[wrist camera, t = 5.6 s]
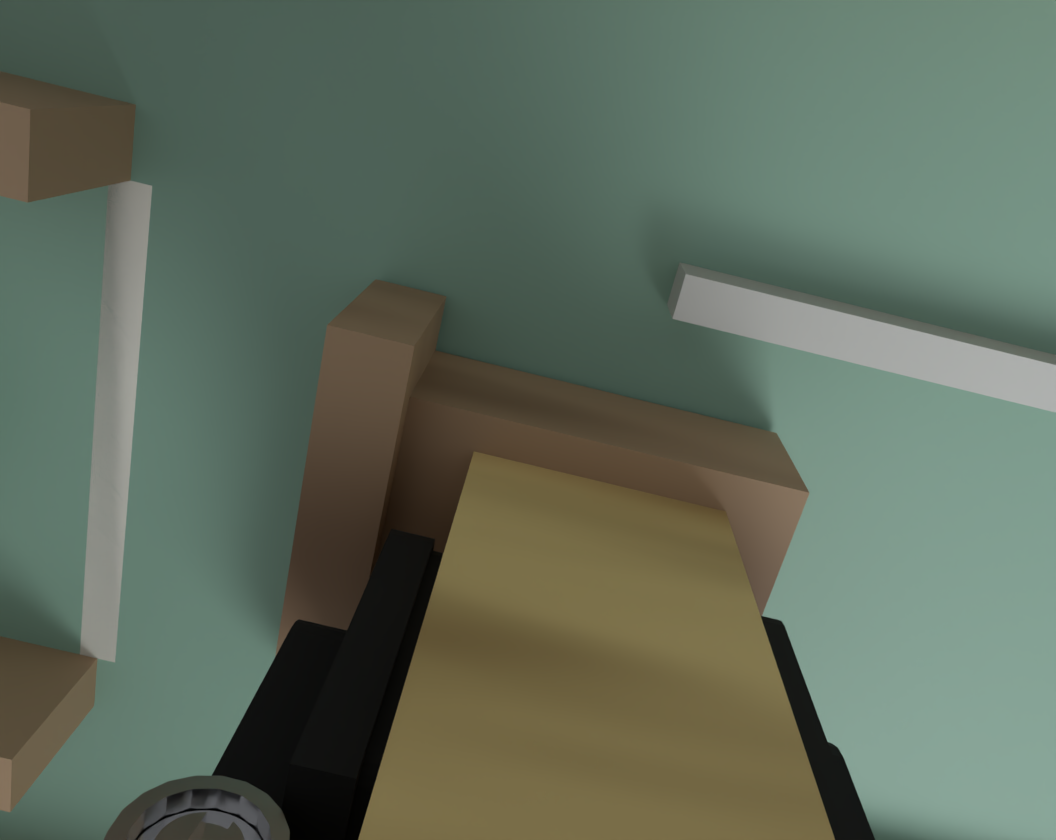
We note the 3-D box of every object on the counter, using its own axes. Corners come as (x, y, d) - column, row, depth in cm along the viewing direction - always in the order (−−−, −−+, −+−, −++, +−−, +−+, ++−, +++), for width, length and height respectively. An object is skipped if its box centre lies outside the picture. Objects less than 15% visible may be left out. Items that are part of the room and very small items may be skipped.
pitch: (1092, 1081, 19) (1203, 1297, 15) (-231, 785, 18) (-418, 946, 15) (1784, 98, 12) (2267, 105, 8) (-352, -460, 11) (-770, -701, 8)
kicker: (655, 766, 15) (749, 1643, 7) (305, 686, 15) (-63, 1478, 6) (795, 381, 12) (1235, 999, 4) (375, 279, 12) (-73, 702, 4)
